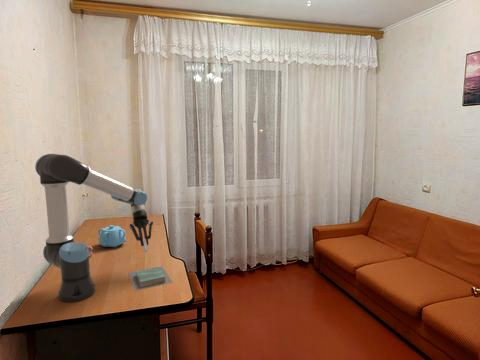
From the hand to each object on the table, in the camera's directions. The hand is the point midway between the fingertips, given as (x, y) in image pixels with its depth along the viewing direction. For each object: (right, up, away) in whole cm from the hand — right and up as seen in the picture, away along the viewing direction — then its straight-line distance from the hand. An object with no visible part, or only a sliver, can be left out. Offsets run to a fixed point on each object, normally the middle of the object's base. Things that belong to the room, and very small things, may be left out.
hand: (145, 250), depth 166 cm
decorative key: (-50, -10, +24) cm, 56 cm away
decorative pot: (-36, -7, +46) cm, 59 cm away
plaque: (+1, -11, +1) cm, 11 cm away
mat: (+3, -13, -4) cm, 14 cm away
